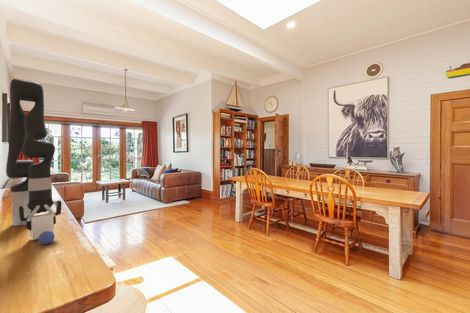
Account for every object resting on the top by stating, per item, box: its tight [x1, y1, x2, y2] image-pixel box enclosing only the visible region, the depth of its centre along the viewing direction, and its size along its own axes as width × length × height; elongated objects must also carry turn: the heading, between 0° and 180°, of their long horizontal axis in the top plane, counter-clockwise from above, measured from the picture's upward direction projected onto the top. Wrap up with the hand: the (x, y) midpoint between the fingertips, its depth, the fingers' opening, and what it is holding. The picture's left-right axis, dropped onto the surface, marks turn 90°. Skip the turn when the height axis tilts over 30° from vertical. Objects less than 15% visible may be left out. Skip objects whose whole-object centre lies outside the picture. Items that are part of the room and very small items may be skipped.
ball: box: [37, 231, 55, 245], centre depth 91 cm, size 5×5×5 cm
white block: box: [29, 211, 55, 240], centre depth 97 cm, size 7×7×9 cm
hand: (41, 227), depth 97 cm, fingers closed on white block, 7 cm apart
